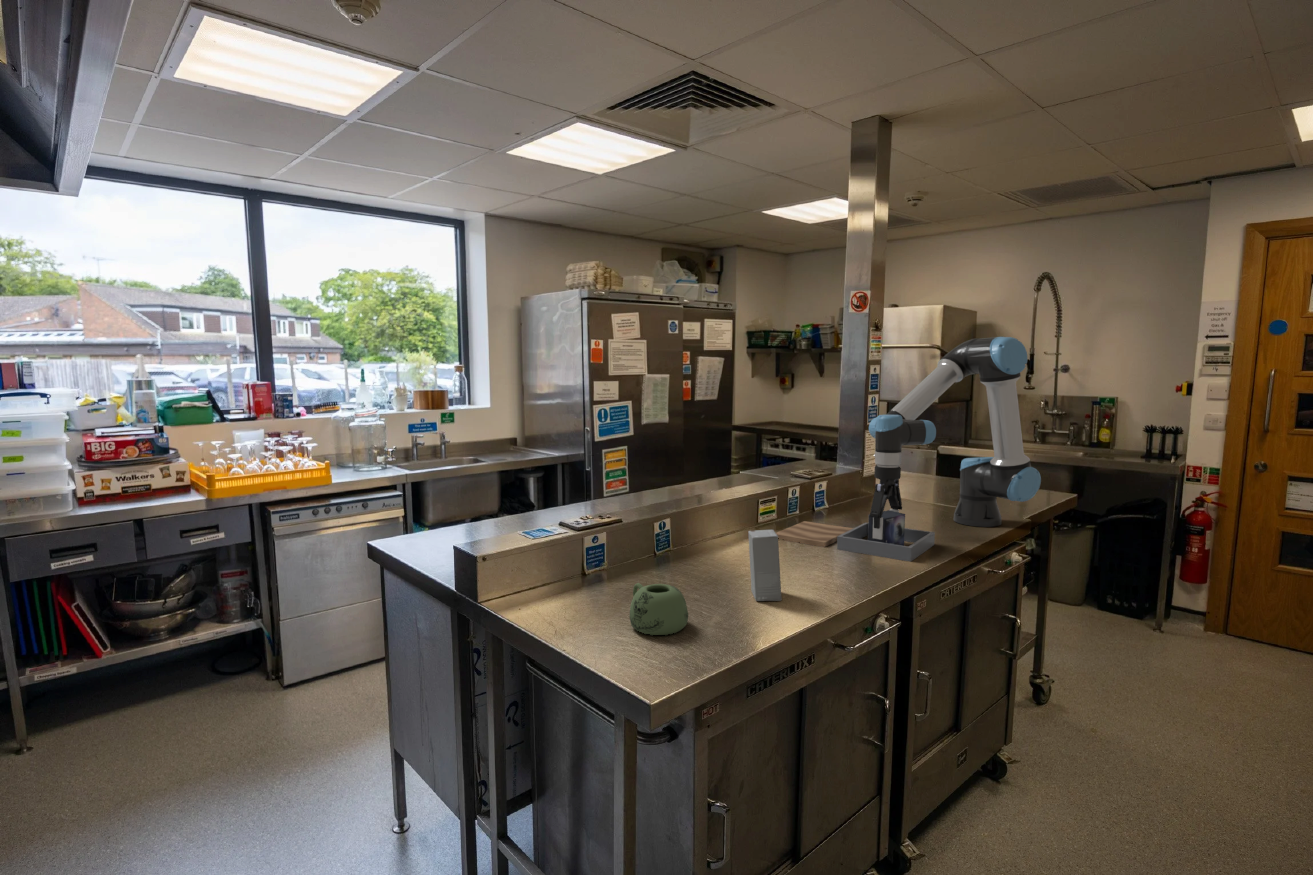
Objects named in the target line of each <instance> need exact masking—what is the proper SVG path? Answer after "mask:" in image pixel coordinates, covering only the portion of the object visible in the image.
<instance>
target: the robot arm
mask: <svg viewBox="0 0 1313 875" xmlns="http://www.w3.org/2000/svg"><path fill="white" fill-rule="evenodd" d="M1026 364H1028V351H1027V349H1026V347H1025V345H1024V344H1023V343H1022V342H1021V341H1020V340H1019V339H1017V338H1015V337H1012V336H994V337H985V338H984V337H983V338H982V337H981V338H980V337H979V338H978V337H977V338H971V339H969V340H965V341H964V342H962V343H960V344H958V345H956V347H954V348H953V349H952V350H950V351H949V352H947V353H946V354H945V355H944V356H943V357H942V358H941V359H940V360H939V361H938V362H937V366H936V367H935V369H933V370H932V371H931V373H929V374H928V375H927V376H926V377H925V378H923V379H922V381H920V382H919V383H918V384H917V385H916V386H915V387H914V388H913V389H912V390H911V391H910V392H909V393H907V394H906V395H905V396H904V397H903V399H901V400H900V401H899V402H898V403H897V404H896V405H895V406H894V407H893V408H891V409H890V410H889V411H888V412H887V413H886V414H879V415H877V417H873V418H872V419H871V421H869V424H868V432H869V435H870V436H871V437H872V439H874V441H875V445H874V448H875V449H874V454H873V457H874V464H875V466H874V478H876V479H877V480H879V483H875V485H874V491H873V498H872V502H871V508H870V511H869V512H870V513H869V514H870V517H873V538H875V539H881V540H882V536H883V518H882V514H883V511H885V507H886V504H887V500H888V503H889V506H890V508H889V509H888V510H890V511H894V512H899V513H900V510H903V503H902V497H901V490H900V479H901V472H902V471H901V470H902V468H901V467H900V466H901V465H902V448H903V446H919V445H921V446H923V445H928V444H929V445H930V444H931V443H933V441H935V439H936V437H937V429H936V426H935V424H934V422H933V421H930V420H926V419H917V418H919V417H920V416H921V415H922V414H923V413H924V411H926V410H927V409H928V408H929V407H931V405H932V404H933V403H934V402H935V401H936V400H937V399H939V398H940V397H941V396H942V395H943V394H944V393H945V392H946V391H947V390H948V389H950V388H951V386H952V385H954V383H959V382H961V381H962V380H963V379H965V377H968V376H970V375H978V374H979V375H978V377H979V381H980V382H979V383H981V384H983V385H984V387H985V389H986V398H987V404H988V405H987V406H988V412H989V413H988V414H989V422H990V430H991V437H992V438H991V439H992V446H993V453H994V454H993V455H994V456H982V457H981V456H980V457H966V458H963V459H961V463H960V468H959V500H958V502H957V506H956V508H955V509H954V513H953V521H954V522H955V523H957V524H960V525H966V526H969V527H970V526H971V527H983V528H987V527H988V528H990V527H998V526H1001V525H1002V515H1001V511H1000V509H999V505H998V502H997V499H998V498H1001V499H1003V500H1009V501H1011V502H1021V503H1022V502H1028V501H1030V500H1032V498H1034V497H1035V495H1036V494H1037V492H1038V491H1039V490H1040V487H1041V482H1042V478H1041V474H1040V472H1039V470H1038V469H1037V468H1035V467H1033V466H1032V464H1031V459H1030V457H1029V456H1027V455H1026V454H1025V451H1024V443H1023V435H1022V426H1021V425H1022V424H1021V416H1020V415H1021V414H1020V407H1019V406H1020V405H1019V398H1018V389H1017V388H1018V387H1017V382H1018V380H1020V378H1021V376H1022V375H1021V372H1023V371H1024V370H1025V369H1026V367H1027V366H1026ZM916 419H917V420H916Z"/></svg>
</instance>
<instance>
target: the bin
mask: <svg viewBox="0 0 1313 875" xmlns="http://www.w3.org/2000/svg"><path fill="white" fill-rule="evenodd" d="M852 528H853V529H851V530H849V531H847V532H845V533H843V534H841V535H839V536H837V541H836V543H837V544H836V550H840V551H846V552H852V553H856V554H864V555H869V556H876V557H880V558H887V559H894V560H899V561H904V562H905V561H906V562H912V561H914V560H915V559H916V558H918V557H919V556H921V555H922V554H923V553H925V552H927V551H928V550H930V549H931V548H932V547H933V546H935V538H936V537H935V535H936V534H935V533H936V532H935V531H929V530H922V529H921V530H920V529H914V528H908V527H905V534H904V542H908V543H909V542H910V543H912V544H910V545H909V546H906V545H904V546H902V545H895V544H889V543H882V542H876V541H870V540H868V539H863V538H865V537H868V522H864V523H862V524H859V525H857V526H855V527H852Z"/></svg>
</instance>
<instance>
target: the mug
mask: <svg viewBox="0 0 1313 875" xmlns="http://www.w3.org/2000/svg"><path fill="white" fill-rule="evenodd" d="M632 597H633V598H632V600H631V602H630V607H629V608H630V609H629V620H630V626H631V627H632V628H633V629H634V630H636V631H637V632H638V631H639V633H640V632H642V633H641V634H643V633H644V635H646V634H650V635H649V636H653V635H665V636H669V635H668V634H670V635H673V633H674V634H676V633H678V632H681V631H682V629H683V630H684V628H685V627H686V625H688V621H689V610H688V605H687V602H686V599H685V597H684V595H683V593H682V591H681V590H680V589H678V588H677V587H675V586H674V585H671V584H664V583H653V584H648V585H643V584H641V583H640V582H637V583H635V584H634V586H633V588H632Z"/></svg>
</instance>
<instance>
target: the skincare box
mask: <svg viewBox="0 0 1313 875" xmlns="http://www.w3.org/2000/svg"><path fill="white" fill-rule="evenodd" d="M747 533H748V550H749V551H748V553H749V568H750V569H749V570H750V572H749V573H750V589H751V590H750V591H751V593H752V596H753V598H754V600H755V601H756V602H765V601H766V602H767V601H769V602H770V601H771V602H773V601H774V602H776V601H777V602H779V601H780V602H781V601H782V585H781V582H782V581H781V569H780V568H781V567H780V549H779V548H780V547H779V539H778V536H777V534H776V533H777V532H775V530H774V529H760V530H748V532H747Z"/></svg>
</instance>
